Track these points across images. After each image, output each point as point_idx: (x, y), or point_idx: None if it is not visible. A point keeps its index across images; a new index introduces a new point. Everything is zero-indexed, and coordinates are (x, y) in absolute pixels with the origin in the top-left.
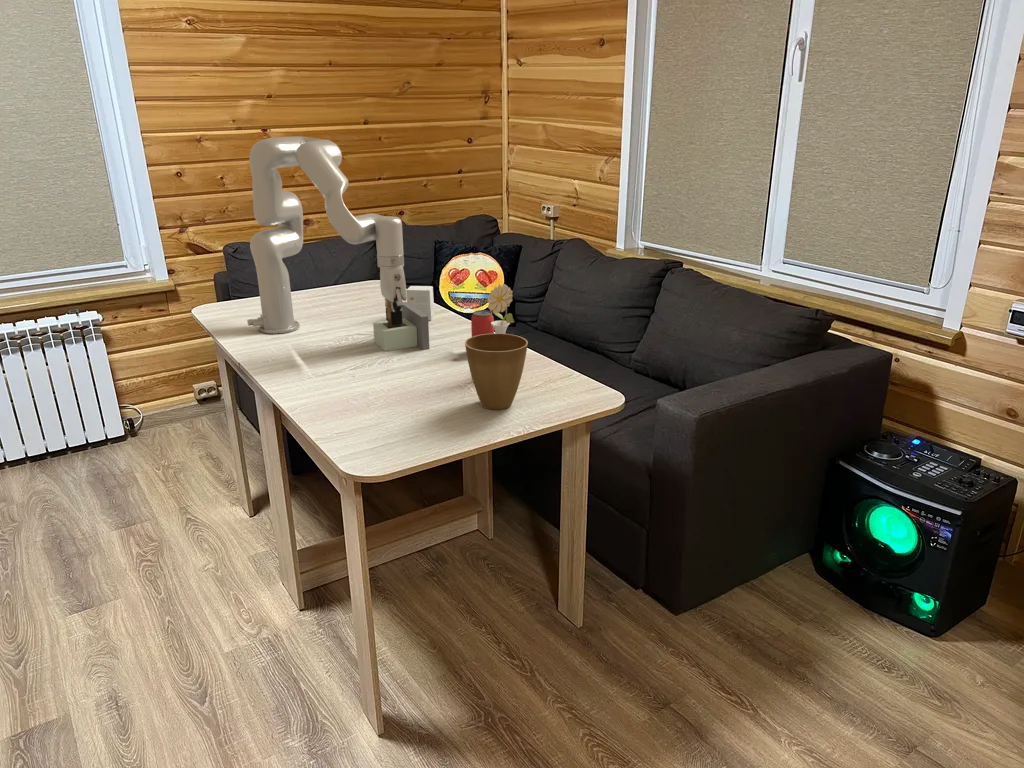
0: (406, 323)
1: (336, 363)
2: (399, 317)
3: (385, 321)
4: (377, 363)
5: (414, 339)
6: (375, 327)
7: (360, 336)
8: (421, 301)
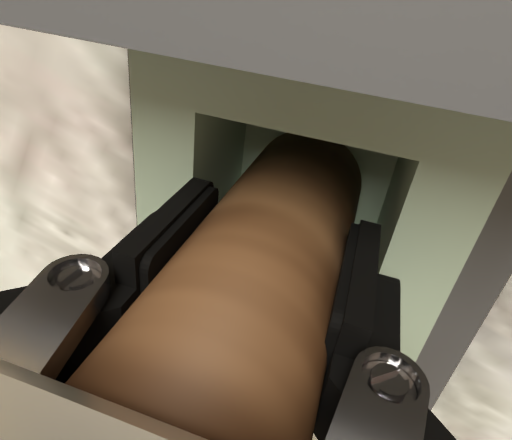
0: (323, 120)
1: None
2: (396, 317)
3: None
4: (493, 365)
5: None
6: None
7: (48, 188)
8: None
